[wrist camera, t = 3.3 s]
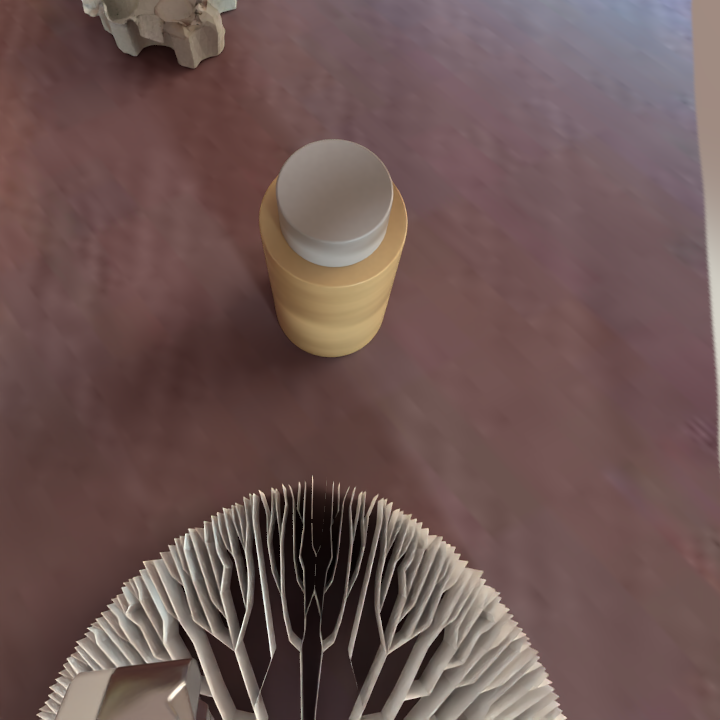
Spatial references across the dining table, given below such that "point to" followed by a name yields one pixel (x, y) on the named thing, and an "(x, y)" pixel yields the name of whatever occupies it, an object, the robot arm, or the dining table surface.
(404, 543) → the spiky fractal disc
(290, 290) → the tan bottle
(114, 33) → the egg carton
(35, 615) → the dining table surface
